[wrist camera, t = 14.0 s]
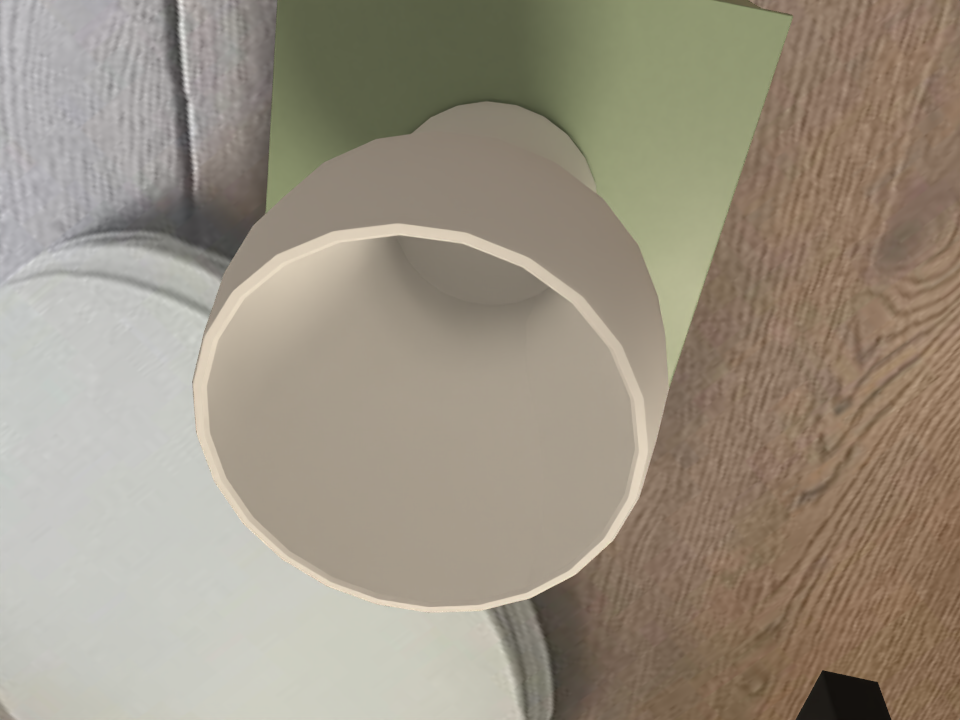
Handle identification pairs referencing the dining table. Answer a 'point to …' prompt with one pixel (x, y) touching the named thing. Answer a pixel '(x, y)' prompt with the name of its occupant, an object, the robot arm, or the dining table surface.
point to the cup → (436, 367)
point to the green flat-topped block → (548, 100)
